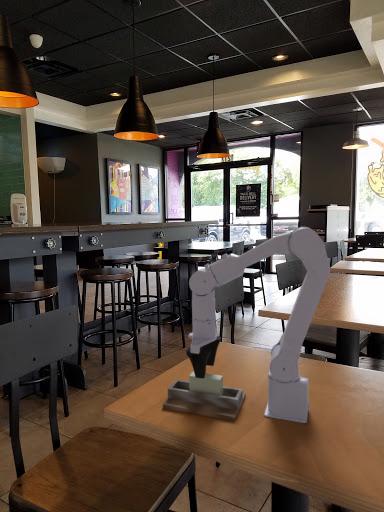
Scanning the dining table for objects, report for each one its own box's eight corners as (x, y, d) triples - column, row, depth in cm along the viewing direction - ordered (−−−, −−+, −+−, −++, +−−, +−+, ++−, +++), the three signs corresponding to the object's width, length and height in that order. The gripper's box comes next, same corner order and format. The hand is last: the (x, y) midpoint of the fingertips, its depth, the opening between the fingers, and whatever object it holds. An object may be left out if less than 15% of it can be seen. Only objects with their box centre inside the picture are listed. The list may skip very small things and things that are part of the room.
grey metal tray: (245, 396, 96) (245, 383, 95) (234, 421, 84) (234, 406, 84) (180, 386, 102) (180, 374, 101) (162, 408, 91) (162, 394, 90)
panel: (222, 398, 93) (222, 375, 92) (220, 403, 90) (220, 380, 90) (192, 393, 95) (192, 371, 95) (189, 398, 93) (189, 375, 92)
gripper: (198, 309, 99) (199, 358, 100) (177, 325, 85) (179, 381, 87) (223, 311, 96) (224, 361, 98) (206, 327, 83) (207, 385, 84)
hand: (205, 371), depth 92 cm, fingers open, 7 cm apart
